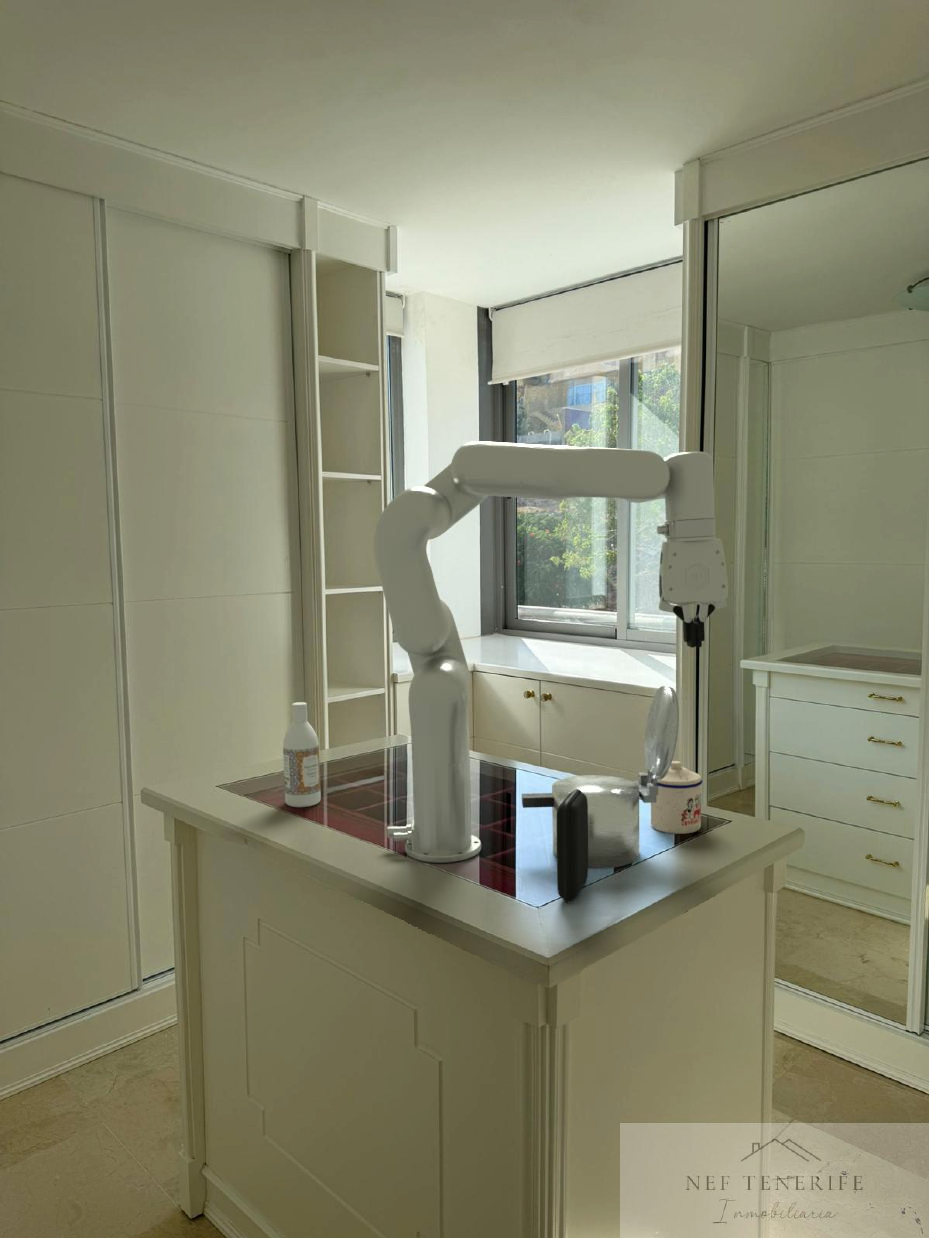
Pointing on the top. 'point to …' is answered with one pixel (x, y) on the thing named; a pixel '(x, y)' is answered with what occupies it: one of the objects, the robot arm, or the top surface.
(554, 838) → the cooker pot
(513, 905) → the top surface
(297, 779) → the bath foam
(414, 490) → the robot arm
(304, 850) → the top surface
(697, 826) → the teacup with lid
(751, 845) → the top surface
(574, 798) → the carrying case or bag
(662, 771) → the lid
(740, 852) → the top surface
